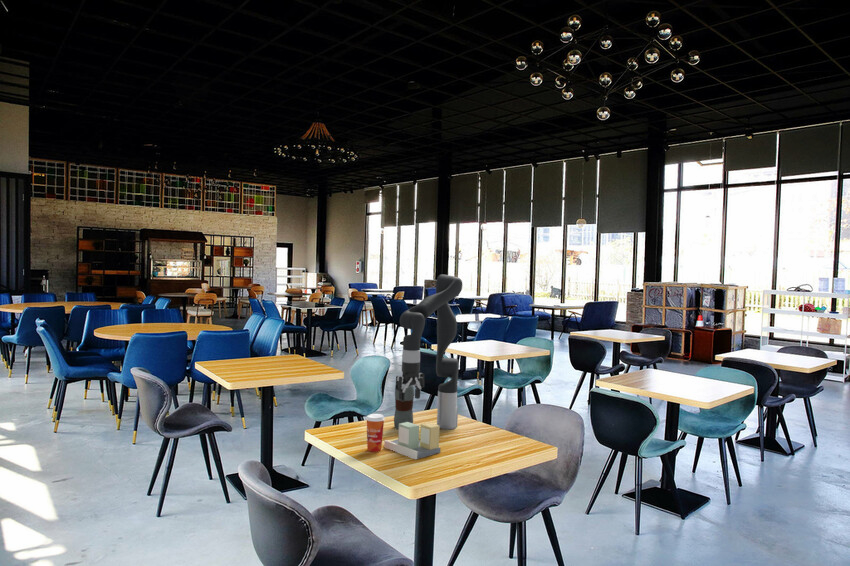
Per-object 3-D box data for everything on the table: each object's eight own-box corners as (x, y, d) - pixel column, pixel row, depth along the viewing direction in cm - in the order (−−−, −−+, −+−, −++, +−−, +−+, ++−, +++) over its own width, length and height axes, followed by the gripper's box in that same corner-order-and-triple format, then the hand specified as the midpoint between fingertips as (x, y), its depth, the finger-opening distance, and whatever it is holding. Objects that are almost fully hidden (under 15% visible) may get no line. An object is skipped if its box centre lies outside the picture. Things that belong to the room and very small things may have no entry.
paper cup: (361, 451, 218) (362, 416, 218) (369, 446, 225) (371, 412, 225) (379, 454, 215) (380, 419, 215) (387, 448, 222) (388, 414, 222)
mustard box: (428, 444, 224) (429, 422, 224) (438, 447, 220) (439, 425, 220) (419, 446, 221) (420, 424, 221) (429, 450, 216) (430, 427, 216)
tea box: (406, 443, 224) (407, 421, 224) (418, 447, 219) (419, 425, 219) (397, 445, 220) (398, 423, 220) (409, 450, 215) (409, 427, 215)
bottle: (417, 428, 254) (419, 365, 254) (403, 432, 248) (406, 367, 248) (402, 424, 261) (405, 362, 261) (389, 427, 254) (391, 364, 254)
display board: (408, 441, 234) (409, 434, 234) (440, 452, 220) (440, 445, 220) (384, 447, 224) (384, 440, 224) (415, 459, 210) (415, 451, 210)
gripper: (404, 363, 214) (402, 404, 214) (429, 360, 224) (428, 399, 224) (392, 360, 219) (390, 400, 220) (417, 357, 229) (416, 395, 230)
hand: (409, 399), depth 222 cm, fingers open, 8 cm apart
